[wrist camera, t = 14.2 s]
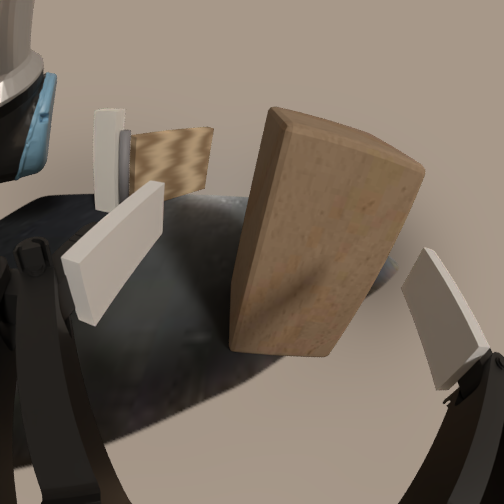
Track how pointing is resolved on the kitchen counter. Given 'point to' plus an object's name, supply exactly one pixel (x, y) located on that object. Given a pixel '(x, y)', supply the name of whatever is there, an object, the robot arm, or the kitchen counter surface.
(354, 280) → the wooden block
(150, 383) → the kitchen counter surface
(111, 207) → the wall stub
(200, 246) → the kitchen counter surface
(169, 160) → the gate
